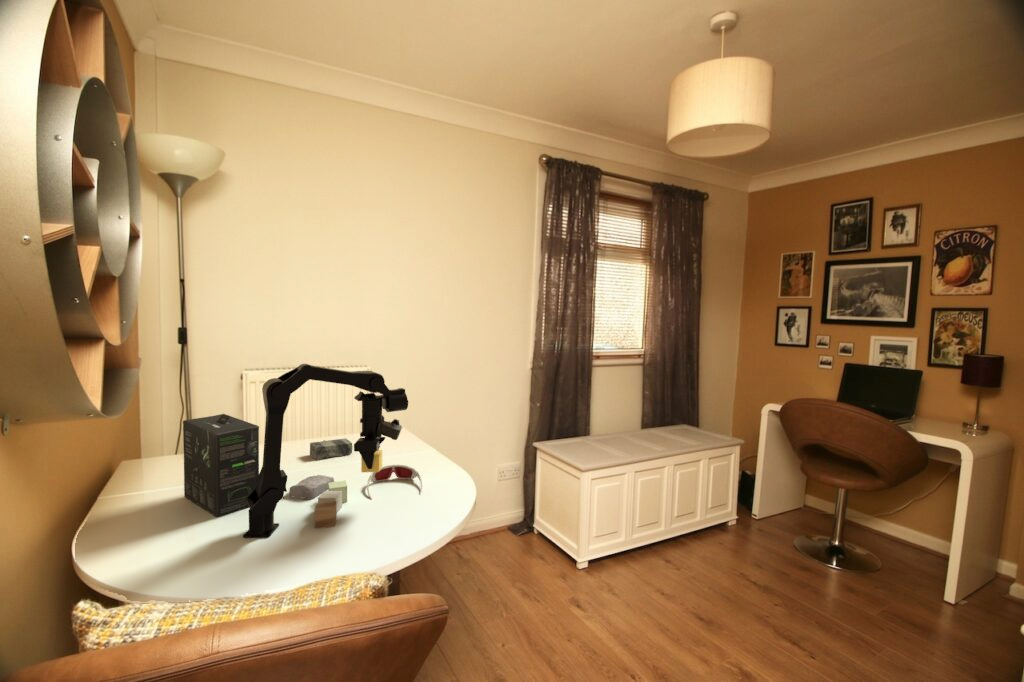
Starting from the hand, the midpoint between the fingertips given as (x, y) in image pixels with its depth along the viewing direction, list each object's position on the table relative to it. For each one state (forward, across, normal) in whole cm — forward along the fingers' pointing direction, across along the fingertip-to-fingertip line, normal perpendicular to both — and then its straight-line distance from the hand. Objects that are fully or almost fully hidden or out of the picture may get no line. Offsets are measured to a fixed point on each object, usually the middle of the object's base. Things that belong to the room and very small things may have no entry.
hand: (371, 465), depth 134 cm
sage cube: (+12, +4, +11) cm, 17 cm away
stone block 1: (+12, +48, +25) cm, 55 cm away
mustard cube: (+1, 0, 0) cm, 1 cm away
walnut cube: (+12, -11, +10) cm, 19 cm away
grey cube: (+12, -4, +11) cm, 17 cm away
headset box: (+12, +5, +45) cm, 47 cm away
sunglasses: (+13, +13, -5) cm, 19 cm away
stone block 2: (+12, +12, +21) cm, 27 cm away
